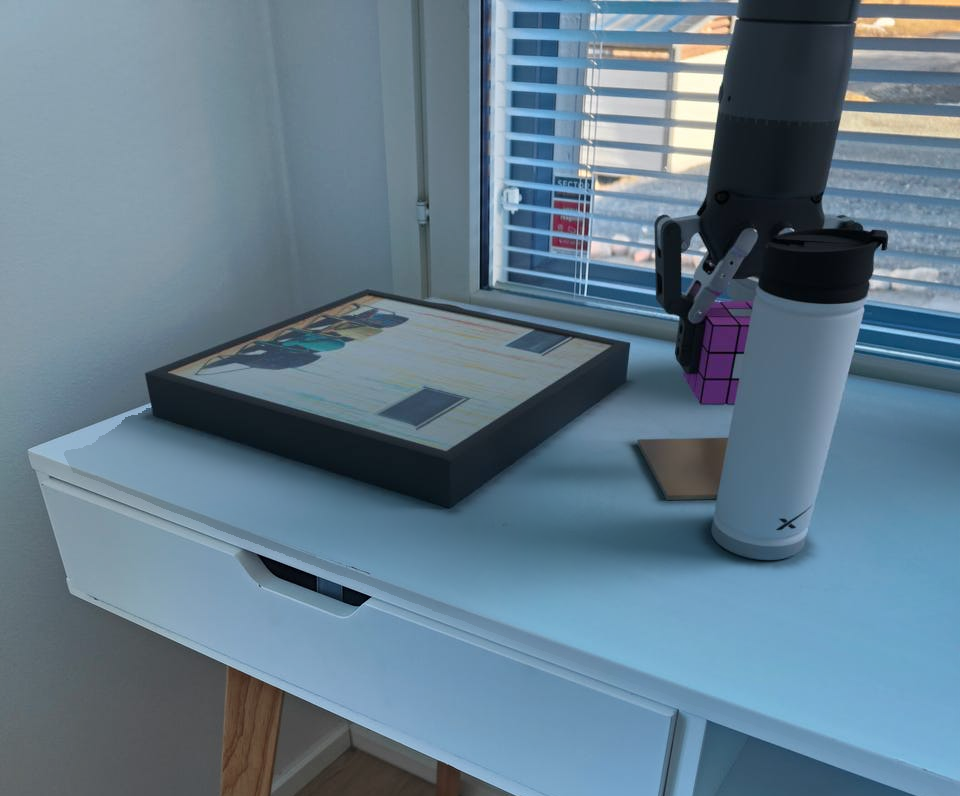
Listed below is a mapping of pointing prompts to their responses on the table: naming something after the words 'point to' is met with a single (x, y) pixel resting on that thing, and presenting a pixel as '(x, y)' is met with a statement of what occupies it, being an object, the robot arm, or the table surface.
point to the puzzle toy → (721, 353)
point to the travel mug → (791, 386)
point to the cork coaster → (686, 466)
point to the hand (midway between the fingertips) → (732, 369)
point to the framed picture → (394, 390)
